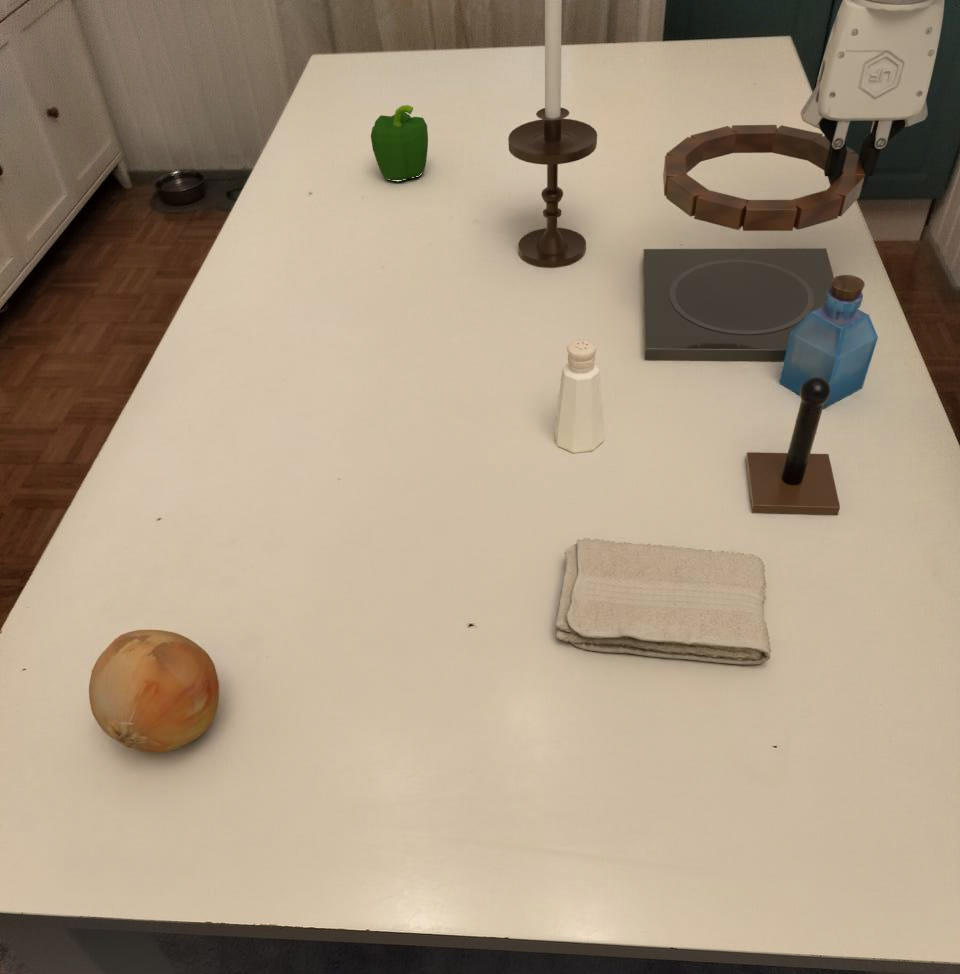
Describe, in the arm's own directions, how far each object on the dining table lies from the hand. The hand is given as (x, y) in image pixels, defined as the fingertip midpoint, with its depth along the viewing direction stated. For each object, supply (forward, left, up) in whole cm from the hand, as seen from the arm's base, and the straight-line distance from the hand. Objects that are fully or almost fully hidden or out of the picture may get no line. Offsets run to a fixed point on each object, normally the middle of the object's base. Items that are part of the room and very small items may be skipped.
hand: (846, 181), depth 99 cm
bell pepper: (+57, -37, -15) cm, 69 cm away
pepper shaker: (+28, +26, -15) cm, 41 cm away
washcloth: (+19, +50, -15) cm, 56 cm away
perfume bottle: (+1, +16, -15) cm, 22 cm away
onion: (+60, +65, -15) cm, 89 cm away
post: (+7, +33, -15) cm, 37 cm away
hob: (+9, 0, -15) cm, 17 cm away
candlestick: (+33, -14, -15) cm, 38 cm away
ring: (+9, 0, 0) cm, 9 cm away
